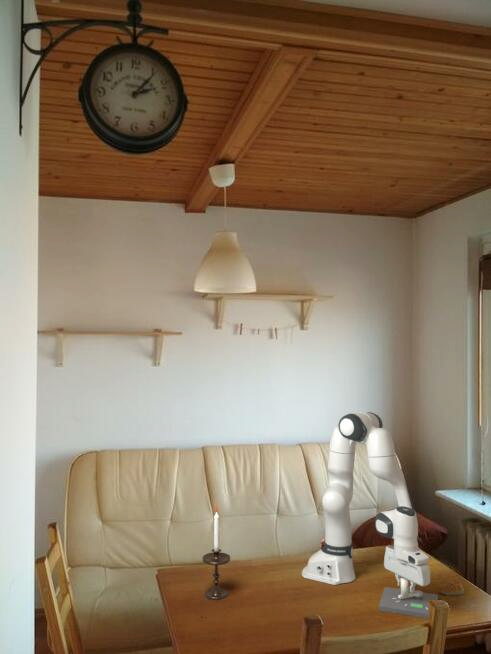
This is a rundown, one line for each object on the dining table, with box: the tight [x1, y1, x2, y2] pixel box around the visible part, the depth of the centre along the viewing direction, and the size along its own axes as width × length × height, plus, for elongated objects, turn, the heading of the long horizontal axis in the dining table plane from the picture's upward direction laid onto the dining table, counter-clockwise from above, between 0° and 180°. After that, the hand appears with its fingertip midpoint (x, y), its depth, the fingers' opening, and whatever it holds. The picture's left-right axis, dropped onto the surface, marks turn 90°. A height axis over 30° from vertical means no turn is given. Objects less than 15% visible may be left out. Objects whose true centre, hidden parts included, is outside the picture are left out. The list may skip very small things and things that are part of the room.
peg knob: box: [398, 576, 424, 599], centre depth 207 cm, size 10×4×7 cm, turn 110°
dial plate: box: [378, 586, 439, 620], centre depth 205 cm, size 20×18×2 cm
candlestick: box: [202, 503, 231, 601], centre depth 214 cm, size 11×11×35 cm
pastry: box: [439, 580, 465, 596], centre depth 216 cm, size 9×7×4 cm
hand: (406, 589), depth 206 cm, fingers open, 4 cm apart
